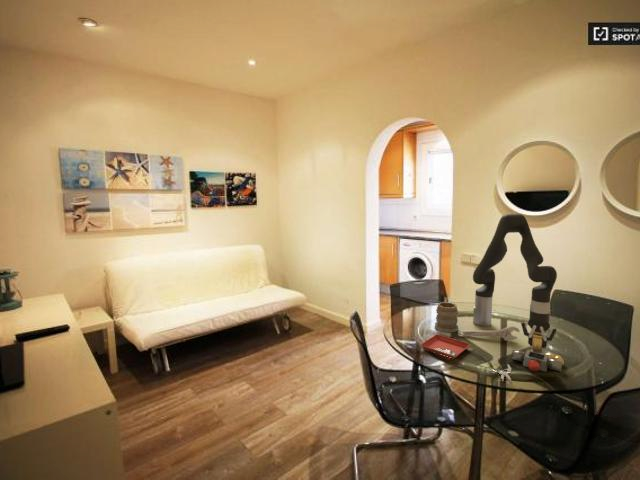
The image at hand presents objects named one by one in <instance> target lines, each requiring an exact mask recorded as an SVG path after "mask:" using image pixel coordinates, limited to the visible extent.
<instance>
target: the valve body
mask: <svg viewBox="0 0 640 480" xmlns="http://www.w3.org/2000/svg"><path fill="white" fill-rule="evenodd" d="M511 359H512V360H514V361H518V362H522V367H526V368H528V369H529V370H530V371H533V372H537V371H541V372H544V373H545V372H546V373H547V371H548V369H549V370H553V371H557V372H560V373H561V372H562V367H563V366H562V361H558V360H554V359H550V358H548V355H547V354H544V353H543V352H542V353H536V352H533V351H532V350H530V349H526V352H524V351H520V350H517V349H512V353H511Z"/></svg>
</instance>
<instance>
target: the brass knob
mask: <svg viewBox="0 0 640 480" xmlns="http://www.w3.org/2000/svg"><path fill="white" fill-rule="evenodd" d="M543 340H544V339H543V336H542V333H539V332H534V333H533V334H532V346H530V348H531V350H530V351H533V352H536V353H543V351H544V349H543Z"/></svg>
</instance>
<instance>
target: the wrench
mask: <svg viewBox="0 0 640 480" xmlns="http://www.w3.org/2000/svg"><path fill="white" fill-rule="evenodd" d="M512 332H517V333H520V332H521V331H520V330H519V327H517V326H514V325H509V326H507V327H504V328H500V329H497V330H492V329H491V330H481V329H480V330H478V329H477V330H475V329H474V330H472V329H471V330H469V329H468V330H466V329H465V330H464V329H463V330H462V329H461V330H458V331H457V335H458V337H498V338H501V339H504V340H503V341H506V342H509V341H514V340H516V339H518V336H516V335H514V334H513V335H512ZM460 333H462V334H460Z"/></svg>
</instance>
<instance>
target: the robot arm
mask: <svg viewBox="0 0 640 480" xmlns="http://www.w3.org/2000/svg"><path fill="white" fill-rule="evenodd" d="M509 233H514V234H515V233H518V234H519V235H520V236H521V244H520V246H519V250H520V253H521V256H522V258H523V260H524V261H525V263H526V269H527V275H528V278H529V280H531V281H532V282H533V283H540V284H539V285H537V286H534V287H533V288H532V290H531V299H530V304H529V305H530V306H529V319H528V321H525V320H523V321H522V322H521V324H520V325H521V328H522V329H521V330H522V332H523V335H524V336H527V338H528V341H527V343H528V345H529V346H530V347H531V346H532V334H533V333H534V332H539V333H542V336H543V339H544V340H543V350H545V348H547V346H548V341H549V342H551V341H552V340H553V338H554V337H555V335H556V332H557V329H558V328H557V326H555V327H553V326H551V325H550V316H551V315H550V314H551V293H552V291H553V288H554V286H555V283H556V281H557V277H558V273H557V270H556V269H555V267H553V266H551V265H541V264H543V262H544V257H543V255H542V253H541V252H540V250H539V248H538V246H537V245H536V242H535V239H534V237H533V234H532V231H531V228H530V225H529V223H528V221H527V219H526V217H525V215H523V214H519V213H507V214H503V215H502V216H501V218H500V219H499V221H498V224H497V226H496V229H495V232H494V235H493V236H492V239H491V241H490V243H489V244H488V246H487V248H486V251H485V252H484V254H483V257H482V259H481V260H480V262H479V264H478V265H477V266H476V268H475V269H474V271H473V274H472V280H473V282H474V283H475V285H482V286H481V287H479V288H477V289H475V294H474V295H475V296H474V297H475V299H474V307H473V317H472V323H473V324H475V325H479V326H483V327H488V326H489V327H490V326H491V325H492V315H493V297H494V291H495V283H496V272H495V271H494V269H493V267H495V266H496V265H498V264H500V263H501V262H502V261H503V259H504V258H505V256H506V255H507V252H508V246H507V244H506V240H505V239H506V236H507V234H509ZM540 265H541V266H540ZM528 326H529V328H530V332H528V328H527V327H528ZM548 330H549V331H550V334H549V336H548V335H547V331H548Z"/></svg>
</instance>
